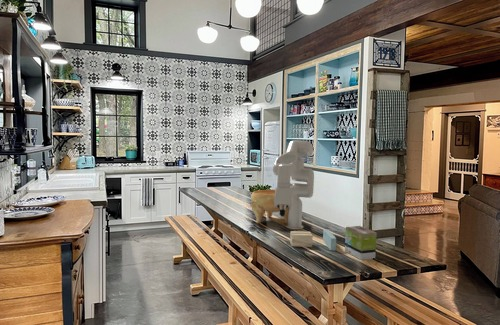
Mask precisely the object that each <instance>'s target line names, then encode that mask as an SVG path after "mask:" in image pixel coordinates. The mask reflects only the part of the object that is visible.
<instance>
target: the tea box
mask: <svg viewBox="0 0 500 325" xmlns="http://www.w3.org/2000/svg"><path fill="white" fill-rule="evenodd" d="M377 235H378V233H377V232H376V231H373V230H371V229H369V228H366V227H363V226H361V225H356V226H355V225H353V226H346V227H345V236H344V238H345V241H344V252H345V253H348V254H350V255H351V256H353V257H355V258H356V259H358V260H360V261H362V260H363V261H364V259H365V260H371V259H373V258H374V259H376V251H377V250H376V249H377V237H378V236H377Z"/></svg>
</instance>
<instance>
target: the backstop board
mask: <svg viewBox="0 0 500 325" xmlns="http://www.w3.org/2000/svg"><path fill="white" fill-rule="evenodd" d="M322 234H323V235H322V241H323V242H324V244H325V245H326V247H328V249H329V250H330V251H337V238H336V236H335V235H334V233H332V232H331V231H330V230H329V229H323V233H322Z"/></svg>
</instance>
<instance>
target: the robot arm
mask: <svg viewBox="0 0 500 325" xmlns="http://www.w3.org/2000/svg"><path fill="white" fill-rule="evenodd" d="M313 153H314V146H313V145H312V143H311V142H310V141H308V140H299V139H298V140H297V139H296V140H295V139H294V140H291V141H289V143H288V145H287V147H286V151H285V152H283V154H281V155H279V156H278V157H277V158H276V159H275V161H274V164H273V167H272V171H273V175H275V176H277V184H276V187H275V189H274V190H275V195H274V206H276V207H278V208H279V209H280V211H279V216H280V217H283V218H284V215H285V210H286V208H288V207H289V213H288V223H286V224H285V228H287V229H290V230H303V229H304V225H303V224H302V220H303V219H302V217H303V201H302V199H301V198H305V199H307V198H309V199H310V198H312V197H313V195H314V186H315V185H314V184H315V183H314V182H315V172H314V170H313V169H312V168H305V160H304V158H303V156H304V157H311V156H312V155H313ZM291 180H292V181H294V183H291ZM297 182H298V183H297ZM299 182H302V183H299ZM277 204H278V205H277ZM281 205H284V207H283V209H282V206H281Z"/></svg>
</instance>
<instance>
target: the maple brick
mask: <svg viewBox="0 0 500 325" xmlns="http://www.w3.org/2000/svg"><path fill="white" fill-rule="evenodd" d="M289 243H290V245H291V247H304V248H305V247H307V248H308V247H310V248H311V247H313V234H312V233H311V231H293V230H291V231H290V238H289Z"/></svg>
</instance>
